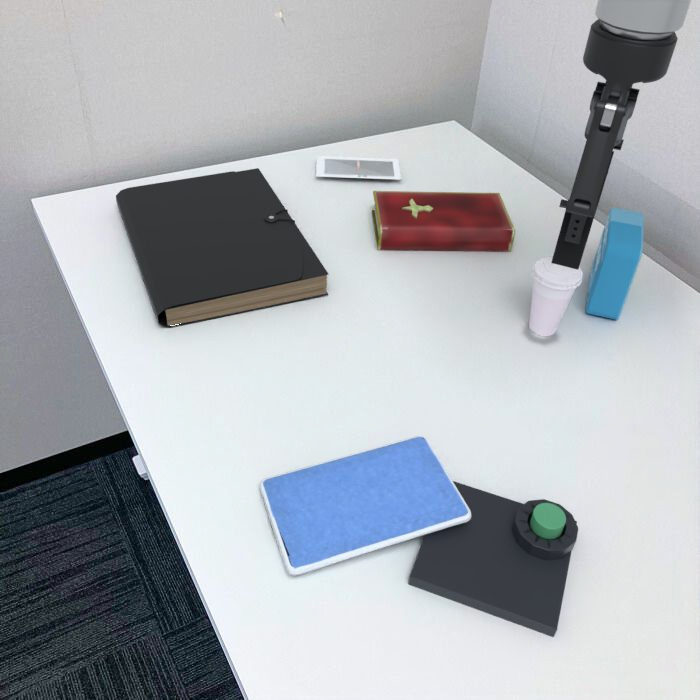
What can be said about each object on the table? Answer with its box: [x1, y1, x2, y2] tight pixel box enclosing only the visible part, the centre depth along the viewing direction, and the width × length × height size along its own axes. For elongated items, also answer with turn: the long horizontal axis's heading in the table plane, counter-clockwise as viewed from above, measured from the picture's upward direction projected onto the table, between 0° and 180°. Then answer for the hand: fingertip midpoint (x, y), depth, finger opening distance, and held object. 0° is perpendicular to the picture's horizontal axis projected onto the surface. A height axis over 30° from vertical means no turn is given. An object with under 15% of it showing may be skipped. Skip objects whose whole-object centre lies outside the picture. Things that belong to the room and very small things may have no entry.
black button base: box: [407, 480, 579, 638], centre depth 74 cm, size 14×13×3 cm
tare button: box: [530, 503, 566, 539], centre depth 74 cm, size 3×3×2 cm
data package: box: [585, 207, 645, 321], centre depth 106 cm, size 12×4×12 cm, turn 163°
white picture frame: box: [315, 155, 402, 181], centre depth 134 cm, size 8×15×2 cm, turn 91°
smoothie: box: [528, 256, 584, 337], centre depth 99 cm, size 6×6×14 cm
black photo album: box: [115, 167, 329, 328], centre depth 113 cm, size 33×4×24 cm
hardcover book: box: [371, 190, 516, 253], centre depth 120 cm, size 12×21×4 cm, turn 93°
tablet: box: [259, 435, 471, 577], centre depth 77 cm, size 19×13×1 cm, turn 109°
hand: (575, 232), depth 80 cm, fingers open, 13 cm apart
